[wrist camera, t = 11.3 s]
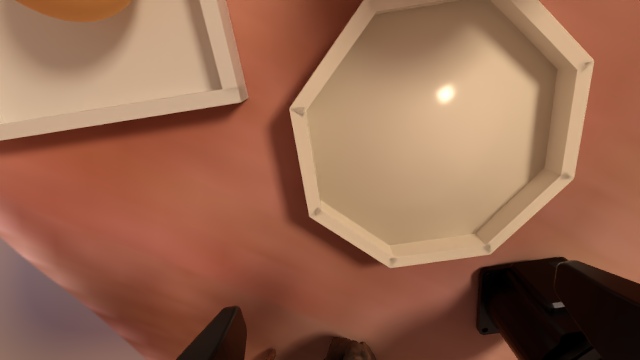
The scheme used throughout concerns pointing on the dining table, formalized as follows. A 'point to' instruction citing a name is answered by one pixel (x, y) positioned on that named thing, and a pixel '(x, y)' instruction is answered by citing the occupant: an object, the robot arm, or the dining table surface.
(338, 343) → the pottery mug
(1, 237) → the dining table surface
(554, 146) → the bowl
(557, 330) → the robot arm
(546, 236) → the dining table surface
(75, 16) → the ball
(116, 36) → the tray
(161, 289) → the dining table surface
